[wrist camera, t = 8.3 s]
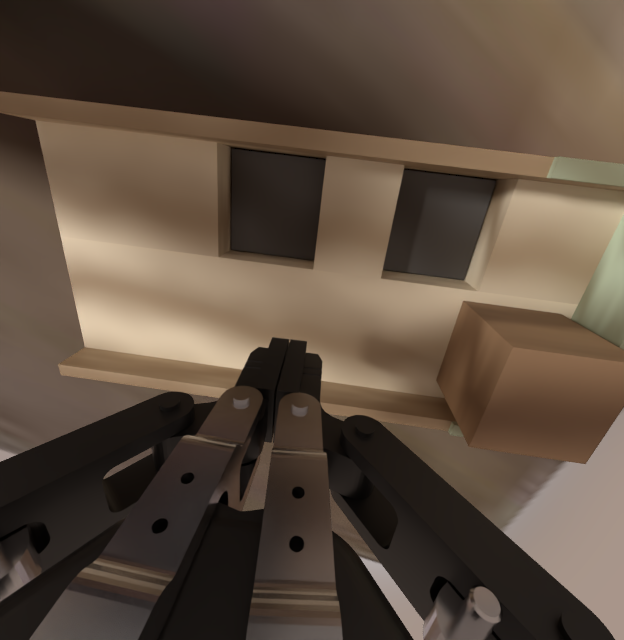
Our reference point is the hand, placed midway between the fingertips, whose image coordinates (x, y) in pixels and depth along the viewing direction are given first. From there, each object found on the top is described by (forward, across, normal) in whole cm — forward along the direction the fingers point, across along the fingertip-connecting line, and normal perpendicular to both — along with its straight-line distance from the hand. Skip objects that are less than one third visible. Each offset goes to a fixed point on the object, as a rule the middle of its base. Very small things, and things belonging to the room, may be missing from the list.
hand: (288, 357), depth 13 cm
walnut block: (+4, -11, 0) cm, 12 cm away
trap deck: (+6, -1, -2) cm, 7 cm away
